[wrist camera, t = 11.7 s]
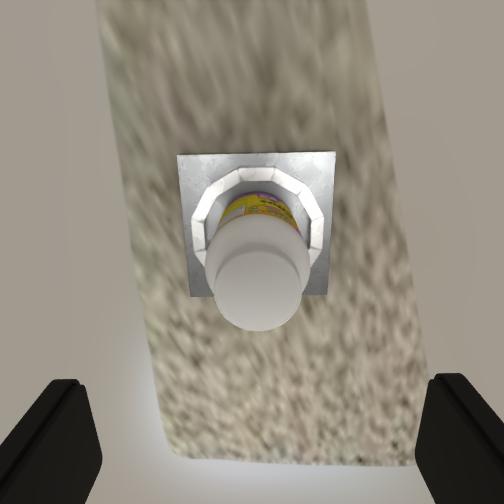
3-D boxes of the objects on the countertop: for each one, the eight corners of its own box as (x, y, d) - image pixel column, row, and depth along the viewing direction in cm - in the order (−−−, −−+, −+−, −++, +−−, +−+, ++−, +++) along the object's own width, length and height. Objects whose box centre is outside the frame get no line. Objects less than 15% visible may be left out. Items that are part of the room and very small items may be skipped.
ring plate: (179, 154, 29) (172, 156, 26) (332, 151, 28) (339, 152, 26) (192, 292, 33) (187, 304, 31) (325, 289, 33) (330, 302, 30)
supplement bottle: (309, 234, 30) (347, 304, 18) (251, 276, 31) (249, 368, 19) (263, 174, 28) (269, 206, 16) (204, 221, 30) (168, 284, 17)
